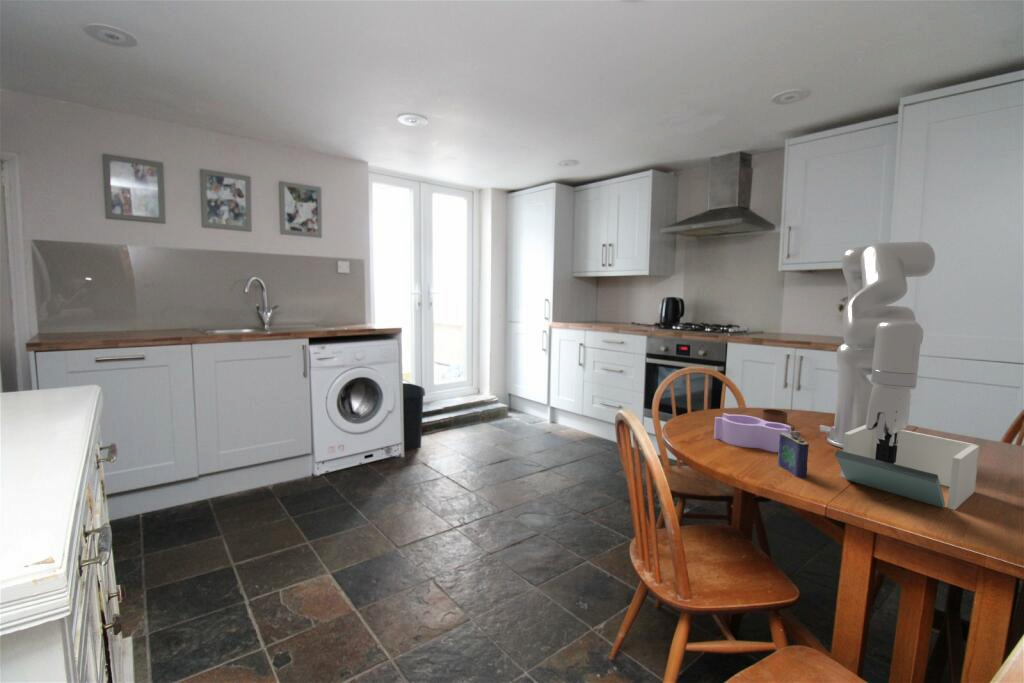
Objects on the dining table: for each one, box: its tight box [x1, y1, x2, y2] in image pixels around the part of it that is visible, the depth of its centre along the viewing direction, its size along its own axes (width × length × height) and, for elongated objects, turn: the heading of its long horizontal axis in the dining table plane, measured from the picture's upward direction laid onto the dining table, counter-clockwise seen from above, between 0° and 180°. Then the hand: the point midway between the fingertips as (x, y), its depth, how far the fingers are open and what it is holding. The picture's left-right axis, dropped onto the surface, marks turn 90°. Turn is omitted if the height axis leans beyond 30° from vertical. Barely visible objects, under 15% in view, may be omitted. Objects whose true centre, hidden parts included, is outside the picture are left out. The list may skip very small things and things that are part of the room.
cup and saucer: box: [761, 408, 796, 431], centre depth 158 cm, size 12×12×6 cm
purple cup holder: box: [713, 412, 792, 453], centre depth 143 cm, size 20×12×7 cm, turn 46°
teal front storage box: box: [839, 425, 981, 511], centre depth 111 cm, size 16×21×12 cm
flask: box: [776, 430, 809, 480], centre depth 118 cm, size 10×3×12 cm, turn 1°
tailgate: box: [834, 449, 946, 509], centre depth 104 cm, size 1×18×12 cm
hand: (885, 461), depth 102 cm, fingers closed
